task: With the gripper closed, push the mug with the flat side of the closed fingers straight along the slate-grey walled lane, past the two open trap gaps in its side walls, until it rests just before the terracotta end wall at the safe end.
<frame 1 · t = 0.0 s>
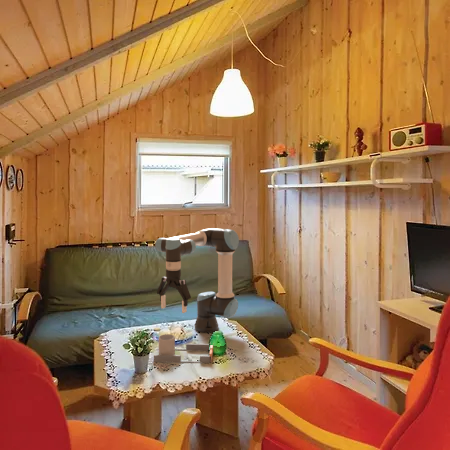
hand: (173, 310, 206), 28 cm above the table, fingers open, 13 cm apart
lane: (184, 355, 217), on the table
mug: (165, 355, 217), on the table
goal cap: (201, 356, 217), resting on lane
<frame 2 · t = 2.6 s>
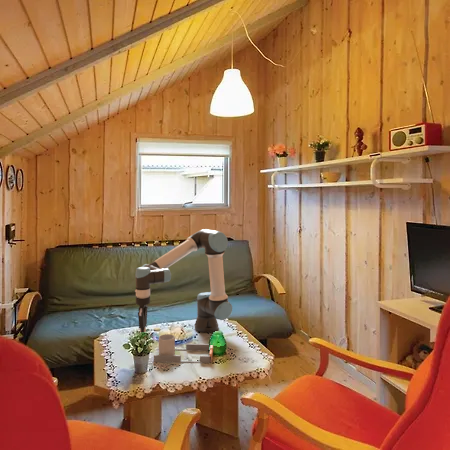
hand: (143, 339, 216), 9 cm above the table, fingers closed
nothing on the table moved.
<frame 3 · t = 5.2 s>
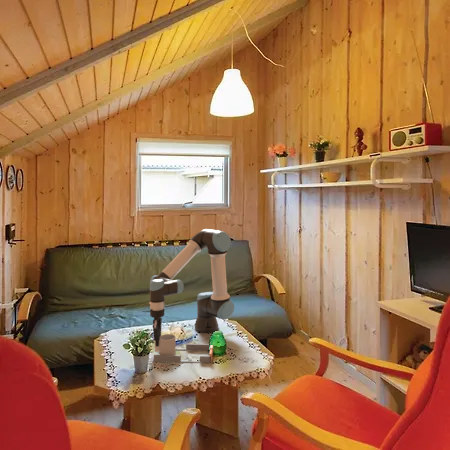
hand: (157, 351, 217), 2 cm above the table, fingers closed
mug: (166, 355, 217), on the table, touching gripper
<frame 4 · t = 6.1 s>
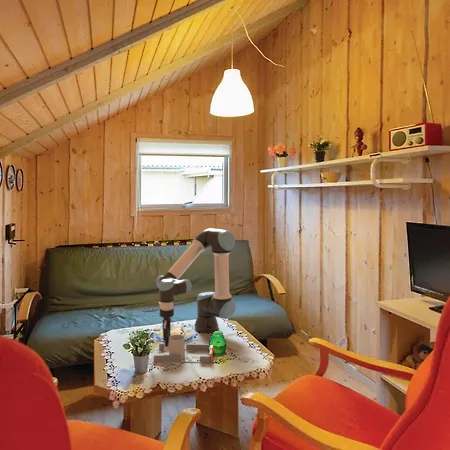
hand: (166, 351, 217), 2 cm above the table, fingers closed
mug: (176, 356, 217), on the table, touching gripper
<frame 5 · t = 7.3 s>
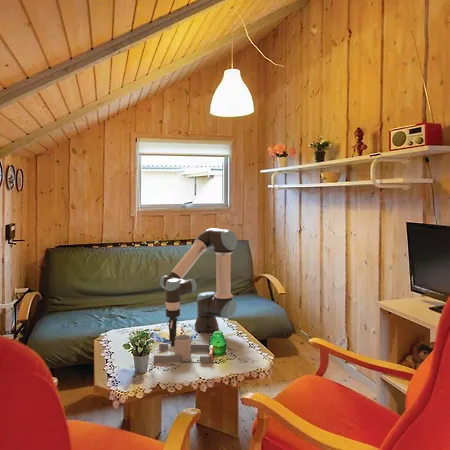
hand: (173, 351, 217), 2 cm above the table, fingers closed
mug: (182, 356, 216), on the table, touching gripper
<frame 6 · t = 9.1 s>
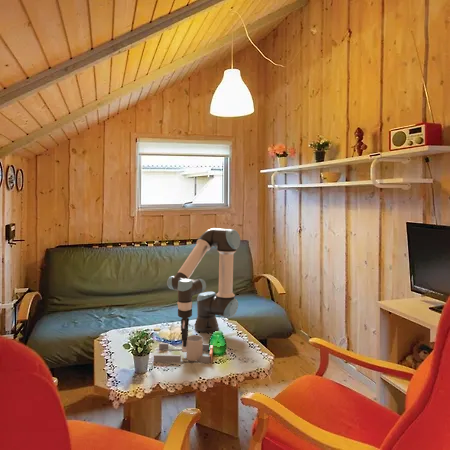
hand: (184, 351, 216), 3 cm above the table, fingers closed
mug: (193, 356, 216), on the table, touching gripper, hand
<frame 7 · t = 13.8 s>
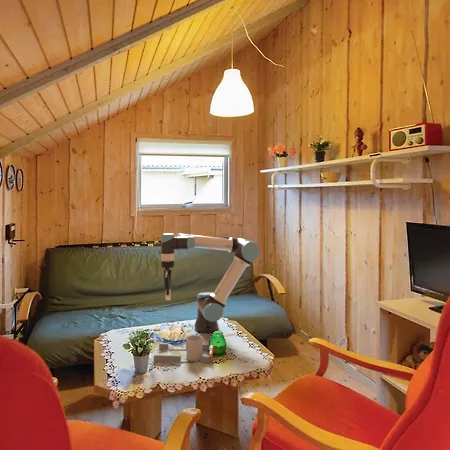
hand: (168, 299, 235), 24 cm above the table, fingers closed
mug: (193, 357, 216), on the table
at the end: mug 3.9 cm from the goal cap (horizontally); mug tilted 0°; mug moved 15.2 cm from its start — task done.
